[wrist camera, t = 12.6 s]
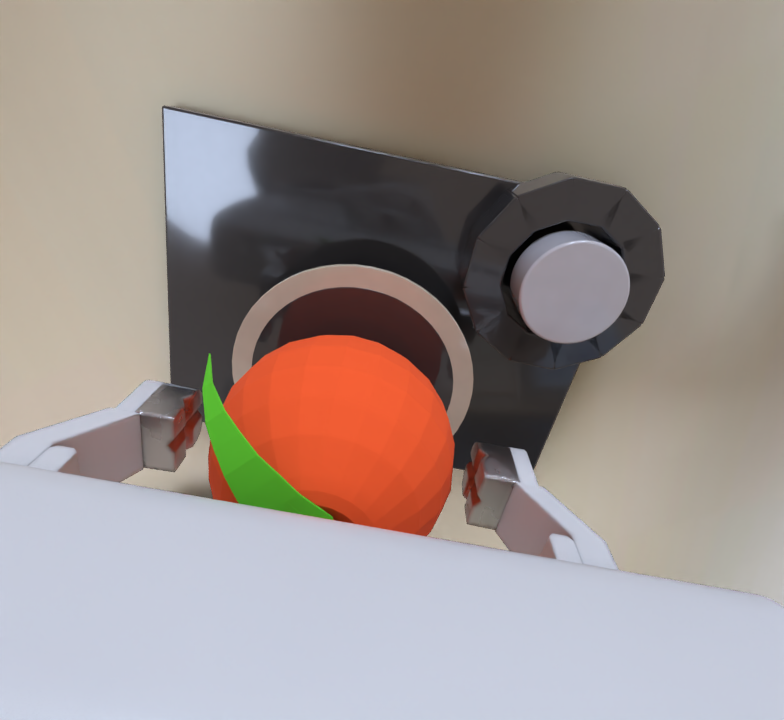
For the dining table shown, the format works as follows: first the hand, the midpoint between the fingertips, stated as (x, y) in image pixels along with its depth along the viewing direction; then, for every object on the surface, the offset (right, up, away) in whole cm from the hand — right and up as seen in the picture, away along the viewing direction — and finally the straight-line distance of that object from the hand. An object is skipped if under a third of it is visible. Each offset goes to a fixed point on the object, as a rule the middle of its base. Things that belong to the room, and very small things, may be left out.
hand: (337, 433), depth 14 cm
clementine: (0, +1, +3) cm, 3 cm away
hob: (+1, +4, +4) cm, 6 cm away
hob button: (+7, +5, +1) cm, 9 cm away
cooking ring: (0, +1, +3) cm, 3 cm away
